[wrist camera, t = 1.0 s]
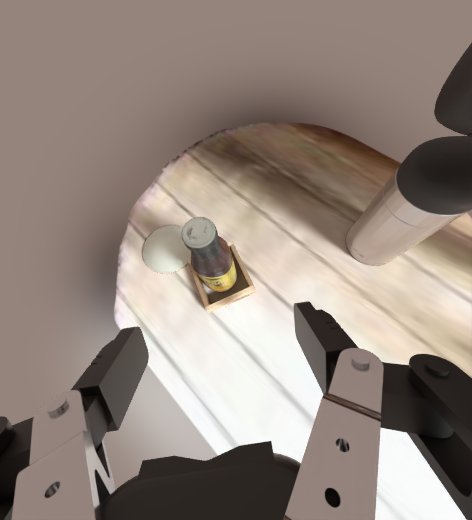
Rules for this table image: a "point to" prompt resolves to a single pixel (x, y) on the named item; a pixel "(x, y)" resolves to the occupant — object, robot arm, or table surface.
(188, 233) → the sauce bottle
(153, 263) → the trivet
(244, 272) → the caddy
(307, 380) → the table surface
